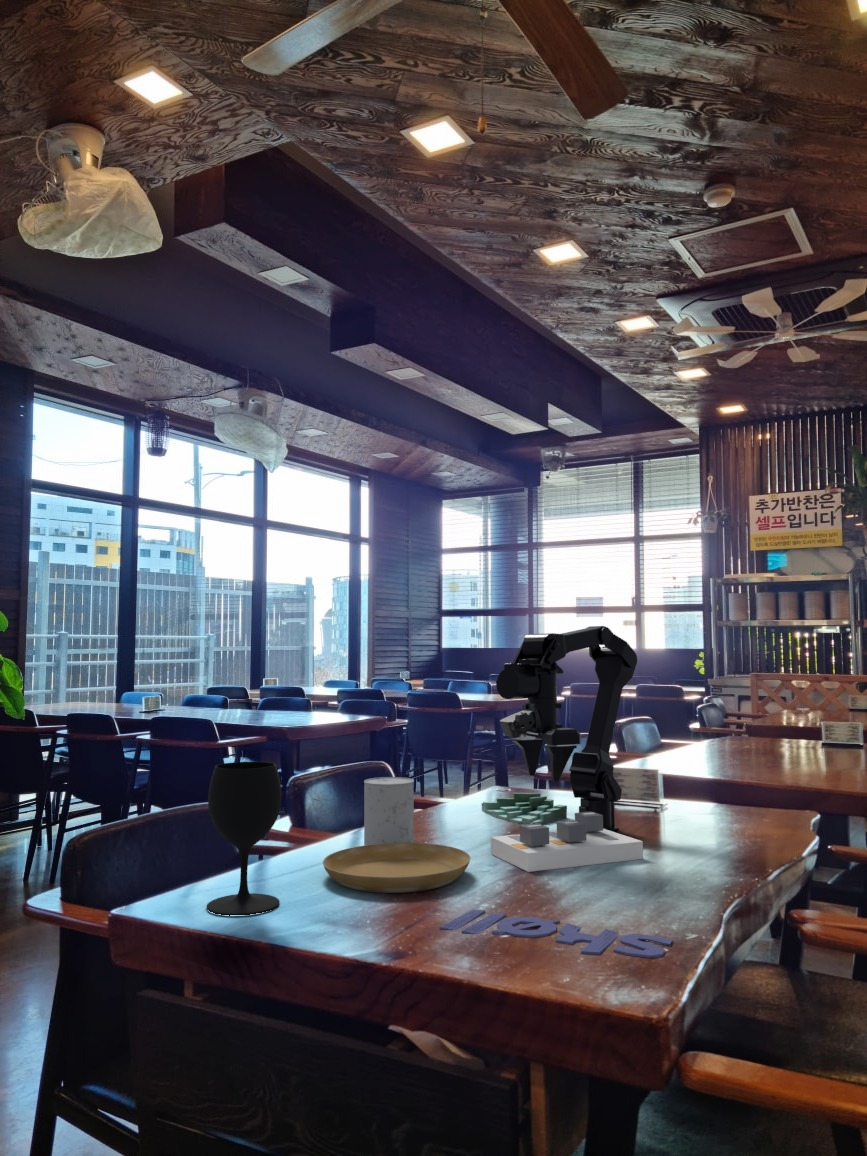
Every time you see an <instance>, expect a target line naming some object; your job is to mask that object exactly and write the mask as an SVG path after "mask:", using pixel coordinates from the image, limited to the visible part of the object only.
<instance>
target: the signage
mask: <svg viewBox="0 0 867 1156" xmlns="http://www.w3.org/2000/svg"><path fill="white" fill-rule="evenodd" d="M485 913H486V909H485V910H484V909H471V910H469V911H467V912H465V913H463V914H462V915H460V916H458V917H455V918H454V919H452V920H450V921H447V922H446V923H444V924H443V925H442V924H441V926H439V930H443V931H444V930H445V931H457V930H458V929H461V928H462V927H463V926H465V925H466V924H469V923H470V922H472V921H473V920H475V919H476V918H478V917H480V916H482V915H483V914H485ZM504 917H507V913H505V912H504V913H497V912H496V913H495V912H492V913H490V914H489V915H488V916H485V917H484V918H482V919H480V920H478V921H477V922H475V923H473V924H471V925H469V926H468V927H466V928H464V929H462V930H461V933H462V934H469V935H470V934H473V935H479V934H481V933H483V932H484V931H485V930H486V929H488V928H490V927H492V926H493V925H494V924H496V927H497V929H495V930H492V931H491V933H492V934H494V935H500V936H502V935H509V936H512V937H518V938H519V937H520V938H532V939H533V938H540V937H546V936H550V935H552V934H555V933H557V924H560V923H561V920H556V919H554V920H552V919H546V918H545V919H544V918H540V917H535V916H516V917H515V916H513V917H509V918H505V919H504ZM501 919H502V920H501ZM519 924H520V925H519ZM581 929H582V927H581V926H579V925H576V924H572V923H568V922H567V923H565V924H564V926H562V927H561V928H560V929H559V930H558V934H559V935H560V936H559V937H557V938H556V939H555V942H556V943H559V944H564V945H574V944H575V943H580V942H584V943H588V944H587V945H586V946H585V947H584V948H583V949H582V950H581V951H580V952H581V953H580V954H583V955H584V954H585V955H596V956H597V955H598V956H599V955H601V953H603V952H604V951H605V950H606V949H607V948H608V947H609V946H610V945H611V944H612V943H613V942H614V941H615V940H616V939H617V938H618V937H617V935H618V933H619V931H618V930H616V931H615V930H610V929H609V928H608V929H607V928H605V929H604V930H602V931H601V932H600V933H599V934H598V935H594V934H590V933H589V934H588V933H584V932H583V933H582V932H579V931H580V930H581ZM639 940H648V941H639ZM649 941H653V942H657V943H660V944H659V945H661V944H664V945H663V946H665V945H669V946H668V947H670V946H671V945H672V944H673V943H674V939H670V938H666V937H661V936H656V935H651V934H639V933H629V934H625V935H624V934H623V935H619V942H620V943H621V944H623V945H625V946H622V945H617V946H615V947H614V948H613V952H614V953H617V954H621V955H625V956H631V957H639V958H647V959H649V958H650V959H652V958H653V959H654V958H660V957H663V956H664V955H665V953H666V952H665V951H666V950H665V948H662V947H661V946H659V945H657V943H656V944H654V943H653V942H652V943H650V942H649ZM672 942H673V943H672ZM671 943H672V944H671ZM670 944H671V945H670ZM627 946H629V947H627Z"/></svg>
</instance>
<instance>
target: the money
mask: <svg viewBox="0 0 867 1156" xmlns="http://www.w3.org/2000/svg"><path fill="white" fill-rule="evenodd" d="M495 800H496V801H483V802H482V803H481V811H482V812H483V813H484V814H487V815H489V816H491V817H494V818H496V819H500V820H502V821H506V822H510V823H514V822H515V824H519V823H520V824H519V825H525V824H537V823H538V824H541V825H543V824H549V823H552V821H553V822H558V821H560V820H564V818H565V819H567V816H568V805H564V804H557V805H554V804H555V803H554V802H555V800H554V799H552V798H548V796H547V795H544V796H542V793H539V792H513V797H496V798H495ZM548 822H549V823H548Z"/></svg>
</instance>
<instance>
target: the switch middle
mask: <svg viewBox="0 0 867 1156" xmlns="http://www.w3.org/2000/svg"><path fill="white" fill-rule="evenodd" d="M556 831H557V838H559V839H562V840H564V841H567V842H576V841H586V824H584V823H581V822H578V821H575V819H573V820H572V819H571V820H561V821H560V820H558V821H556Z"/></svg>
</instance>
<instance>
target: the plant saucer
mask: <svg viewBox="0 0 867 1156" xmlns="http://www.w3.org/2000/svg"><path fill="white" fill-rule="evenodd" d="M471 858H472V857H471V855H470V854H469V853H468V852H466V851H465V850H463V849H460V848H457V847H453V846H449V845H444V844H443V845H442V844H436V843H426V842H414V843H383V844H372V845H364V844H363V845H359V846H353V847H349V848H344V849H341V850H338V851H334V852H332V853H331V854H328V855H327V856H326V857H324V859H323V860H322V865H323V869H325V871H326V873H327V874H328V875H329V877H330V878H332V879H333V880H334V881H335V882H336V883H338V884H339V885H341V886H344V887H345V888H348V889H352V890H356V891H360V892H368V893H378V894H379V893H383V894H384V893H385V894H401V893H415V892H417V893H418V892H424V891H429V890H433V889H438V888H441V887H445V886H447V885H449V884H451V883H453V882H454V881H455V880H457V879H458V878H460V877H461V875H462V874H463V873H465V871H466V870H467V868H468V866H469V864H470V861H471Z"/></svg>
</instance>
